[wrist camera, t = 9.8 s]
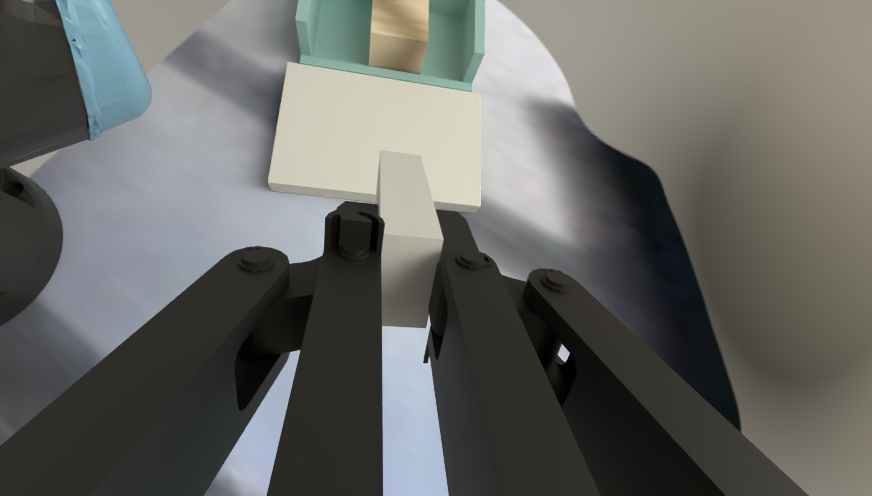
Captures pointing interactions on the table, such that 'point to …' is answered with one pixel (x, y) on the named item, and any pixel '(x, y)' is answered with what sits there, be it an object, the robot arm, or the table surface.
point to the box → (350, 40)
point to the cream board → (374, 136)
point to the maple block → (399, 34)
